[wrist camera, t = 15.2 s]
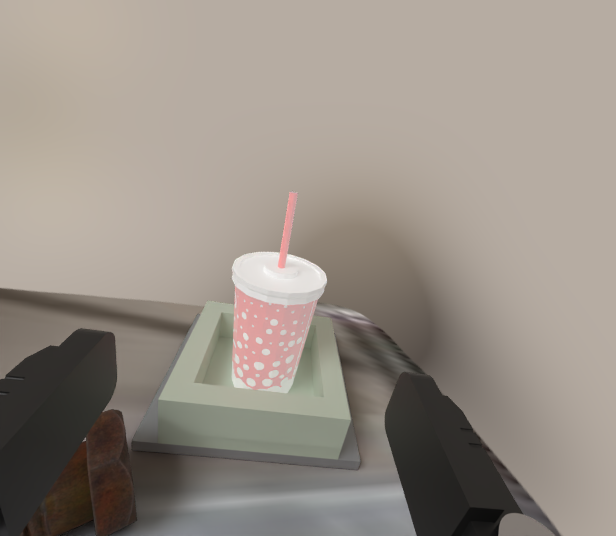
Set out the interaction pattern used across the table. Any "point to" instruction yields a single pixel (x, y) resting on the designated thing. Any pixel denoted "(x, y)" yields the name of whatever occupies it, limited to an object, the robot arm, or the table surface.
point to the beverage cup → (272, 313)
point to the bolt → (91, 485)
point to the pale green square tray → (251, 403)
